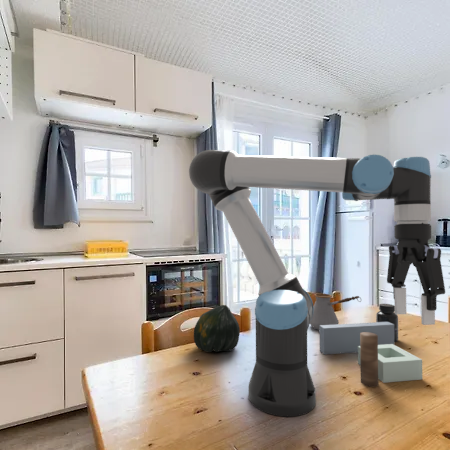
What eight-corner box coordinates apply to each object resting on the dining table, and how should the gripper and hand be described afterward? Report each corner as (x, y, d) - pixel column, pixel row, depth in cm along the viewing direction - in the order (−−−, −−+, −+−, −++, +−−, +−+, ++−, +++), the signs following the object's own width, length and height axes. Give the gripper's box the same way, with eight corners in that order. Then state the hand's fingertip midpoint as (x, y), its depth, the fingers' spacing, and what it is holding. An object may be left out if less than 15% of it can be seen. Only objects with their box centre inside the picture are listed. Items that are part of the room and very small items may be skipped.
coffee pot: (301, 326, 121) (301, 289, 121) (320, 321, 128) (319, 285, 128) (351, 342, 104) (351, 298, 104) (369, 335, 110) (369, 294, 111)
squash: (181, 329, 102) (199, 300, 95) (215, 322, 111) (235, 295, 104) (198, 369, 93) (221, 340, 86) (234, 357, 103) (257, 331, 96)
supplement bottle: (401, 343, 103) (401, 307, 103) (379, 342, 104) (379, 306, 104) (394, 336, 110) (394, 303, 110) (374, 335, 111) (373, 302, 111)
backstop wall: (324, 354, 94) (323, 328, 94) (319, 350, 97) (319, 325, 97) (394, 349, 98) (394, 324, 98) (388, 346, 101) (387, 321, 101)
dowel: (366, 387, 74) (366, 337, 74) (357, 379, 78) (356, 332, 78) (381, 386, 75) (381, 337, 75) (371, 378, 79) (371, 331, 79)
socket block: (383, 382, 76) (383, 362, 77) (357, 363, 87) (357, 346, 87) (422, 379, 78) (422, 359, 78) (392, 361, 89) (392, 343, 89)
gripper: (466, 221, 63) (468, 332, 63) (395, 224, 84) (396, 307, 83) (434, 221, 62) (436, 334, 62) (370, 224, 83) (371, 308, 82)
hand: (413, 318), depth 73 cm, fingers open, 8 cm apart
